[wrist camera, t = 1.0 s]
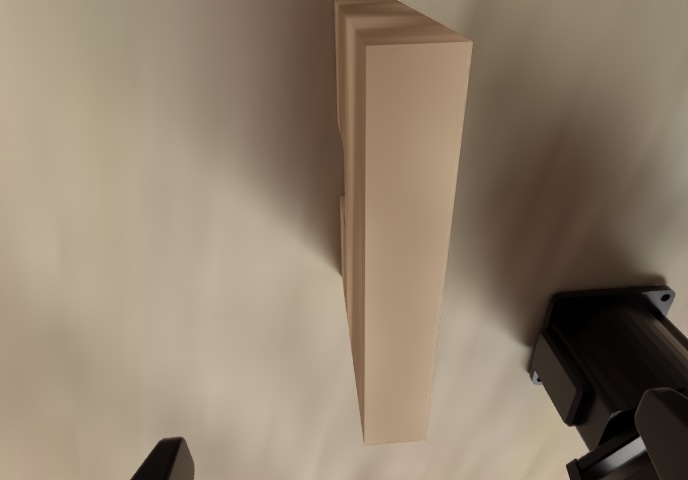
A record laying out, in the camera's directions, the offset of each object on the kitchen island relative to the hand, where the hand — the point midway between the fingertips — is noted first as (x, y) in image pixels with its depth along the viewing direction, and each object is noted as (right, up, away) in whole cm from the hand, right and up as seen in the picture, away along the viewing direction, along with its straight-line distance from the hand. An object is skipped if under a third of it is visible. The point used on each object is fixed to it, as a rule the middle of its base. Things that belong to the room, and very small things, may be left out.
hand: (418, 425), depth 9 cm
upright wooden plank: (-1, +7, +10) cm, 12 cm away
